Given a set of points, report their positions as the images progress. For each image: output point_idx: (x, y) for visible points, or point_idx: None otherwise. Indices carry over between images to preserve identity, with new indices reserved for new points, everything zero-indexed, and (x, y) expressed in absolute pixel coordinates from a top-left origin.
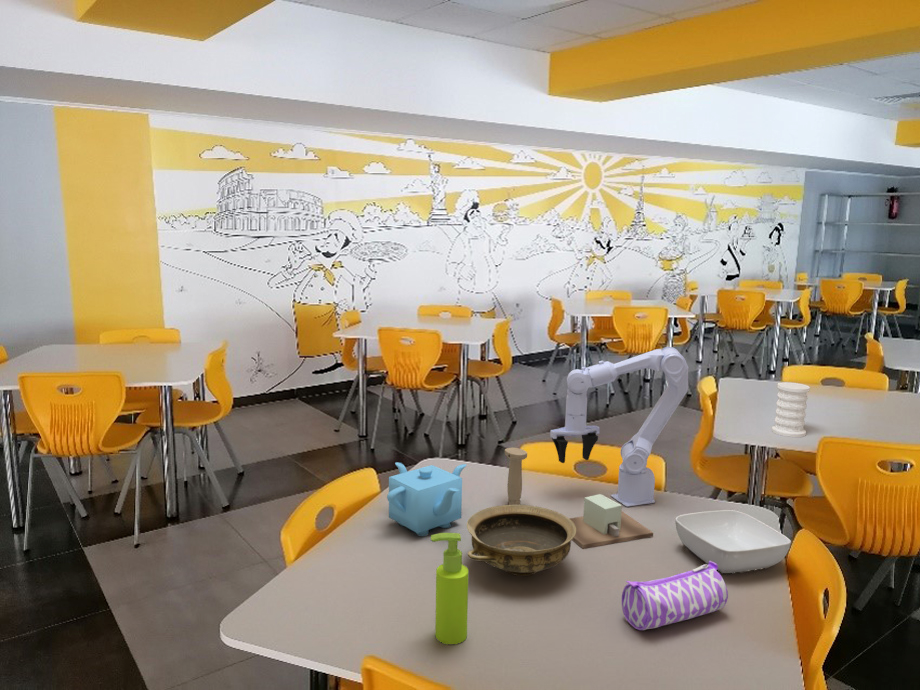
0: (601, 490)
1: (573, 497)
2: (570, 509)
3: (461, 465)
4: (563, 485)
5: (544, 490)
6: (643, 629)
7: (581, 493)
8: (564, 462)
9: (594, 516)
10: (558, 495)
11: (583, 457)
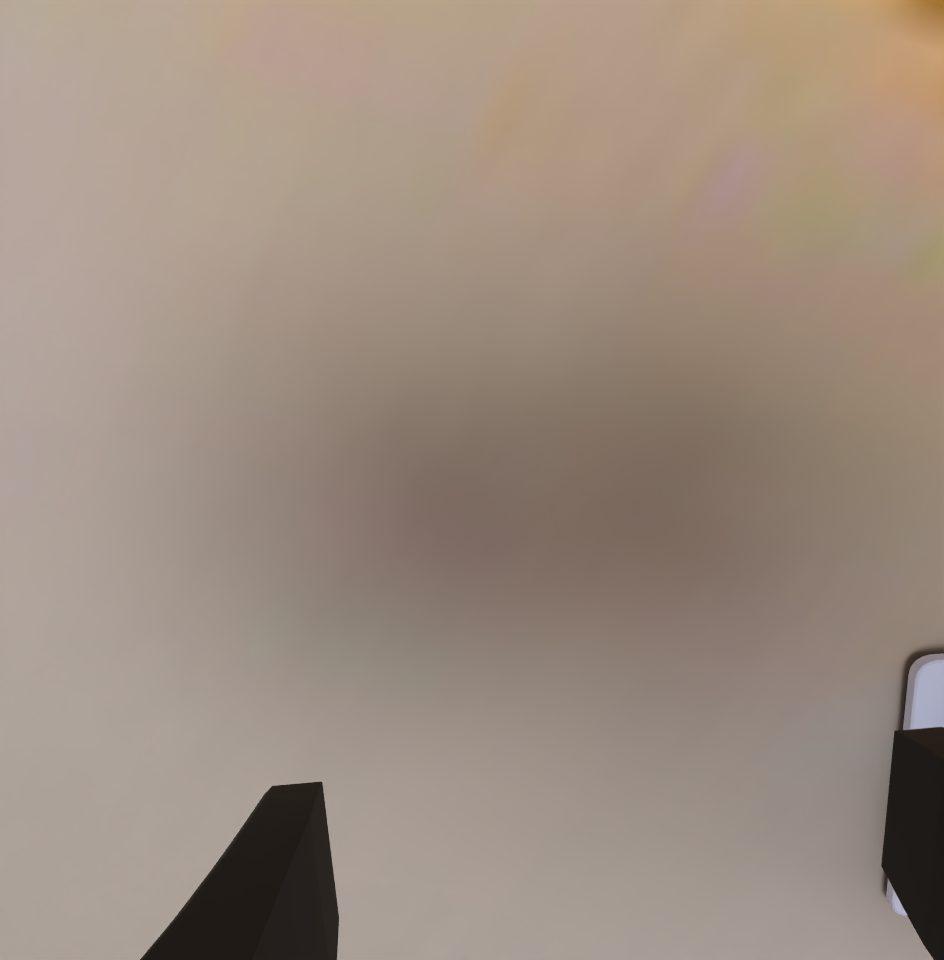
0: (928, 474)
1: (512, 579)
2: (336, 835)
3: None
4: (576, 199)
5: (255, 296)
6: None
7: (659, 498)
8: (335, 932)
9: None
10: (367, 487)
11: (905, 766)
